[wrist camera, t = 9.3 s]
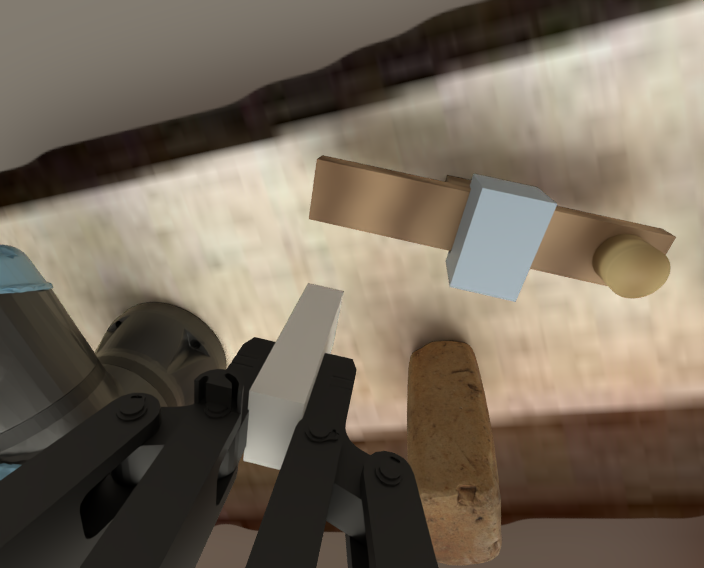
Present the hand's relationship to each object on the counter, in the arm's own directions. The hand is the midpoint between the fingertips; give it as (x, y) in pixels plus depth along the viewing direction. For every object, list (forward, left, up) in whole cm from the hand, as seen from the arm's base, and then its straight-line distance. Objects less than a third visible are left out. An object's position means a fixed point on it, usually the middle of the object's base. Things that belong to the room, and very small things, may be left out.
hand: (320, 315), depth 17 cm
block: (+12, -20, -25) cm, 34 cm away
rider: (+10, 0, -19) cm, 21 cm away
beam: (+9, 0, -25) cm, 27 cm away
